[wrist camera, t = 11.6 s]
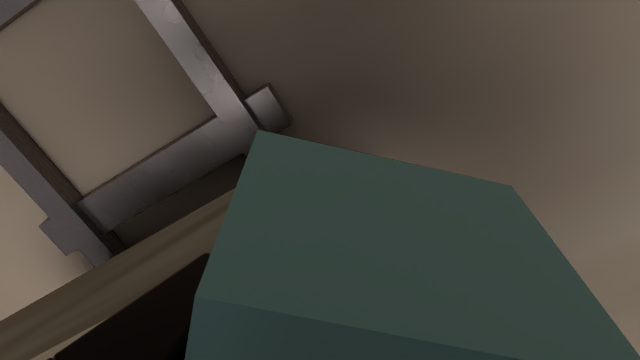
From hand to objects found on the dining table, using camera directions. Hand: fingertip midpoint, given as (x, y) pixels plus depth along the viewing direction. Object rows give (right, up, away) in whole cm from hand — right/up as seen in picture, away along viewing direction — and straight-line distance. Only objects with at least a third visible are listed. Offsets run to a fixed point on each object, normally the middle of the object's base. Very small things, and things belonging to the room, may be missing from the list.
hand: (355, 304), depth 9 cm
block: (0, 0, +1) cm, 1 cm away
